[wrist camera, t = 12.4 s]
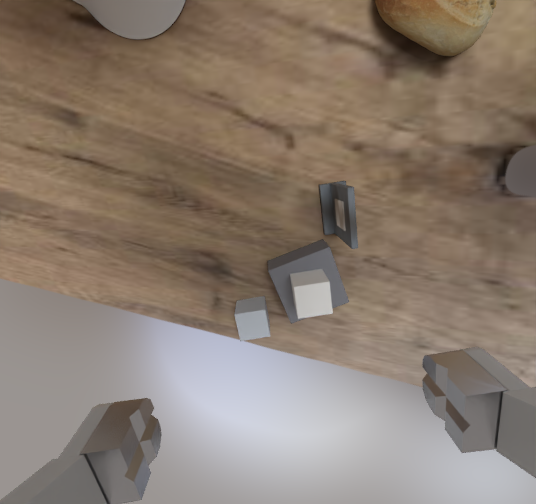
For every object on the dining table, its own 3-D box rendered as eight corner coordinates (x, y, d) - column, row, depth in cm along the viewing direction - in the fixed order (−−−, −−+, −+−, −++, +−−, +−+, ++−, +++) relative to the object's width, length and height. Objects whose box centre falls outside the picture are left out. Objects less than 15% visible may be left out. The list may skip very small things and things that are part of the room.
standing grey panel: (318, 185, 45) (334, 190, 35) (344, 180, 45) (366, 184, 35) (324, 233, 47) (340, 250, 38) (348, 229, 47) (369, 246, 38)
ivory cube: (289, 273, 44) (293, 287, 39) (321, 268, 44) (329, 281, 39) (294, 302, 45) (298, 318, 41) (325, 297, 45) (332, 313, 41)
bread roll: (388, -50, 37) (422, -107, 29) (487, -1, 38) (544, -43, 31) (357, 33, 39) (381, 1, 31) (451, 75, 41) (495, 54, 33)
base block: (267, 260, 49) (268, 270, 44) (322, 238, 48) (329, 246, 43) (288, 308, 51) (291, 323, 47) (340, 289, 51) (349, 302, 46)
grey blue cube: (236, 300, 50) (234, 314, 46) (264, 295, 50) (265, 309, 45) (242, 324, 52) (240, 341, 47) (269, 320, 52) (270, 336, 47)
